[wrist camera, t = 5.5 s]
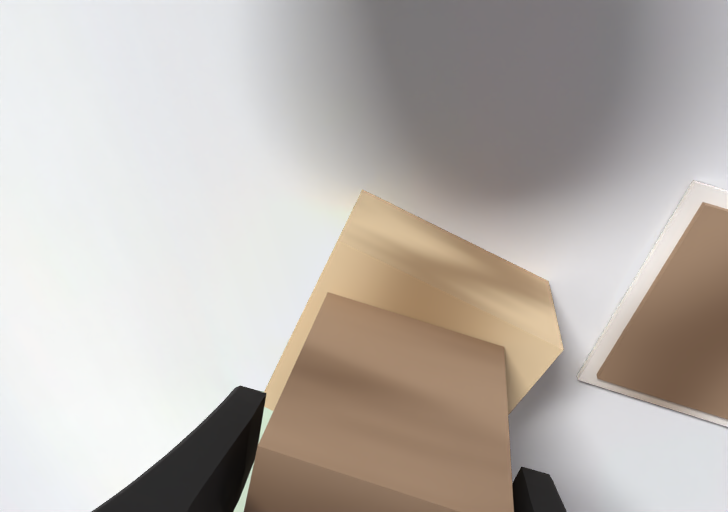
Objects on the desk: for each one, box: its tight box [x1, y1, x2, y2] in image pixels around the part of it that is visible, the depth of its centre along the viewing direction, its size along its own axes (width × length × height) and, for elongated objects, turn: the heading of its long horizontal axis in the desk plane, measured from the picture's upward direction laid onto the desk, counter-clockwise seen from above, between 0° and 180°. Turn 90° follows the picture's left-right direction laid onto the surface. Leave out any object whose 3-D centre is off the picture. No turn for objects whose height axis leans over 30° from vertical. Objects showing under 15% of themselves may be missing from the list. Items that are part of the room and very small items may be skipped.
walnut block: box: [244, 292, 514, 512], centre depth 13 cm, size 4×4×5 cm
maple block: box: [264, 190, 564, 415], centre depth 16 cm, size 6×6×4 cm
